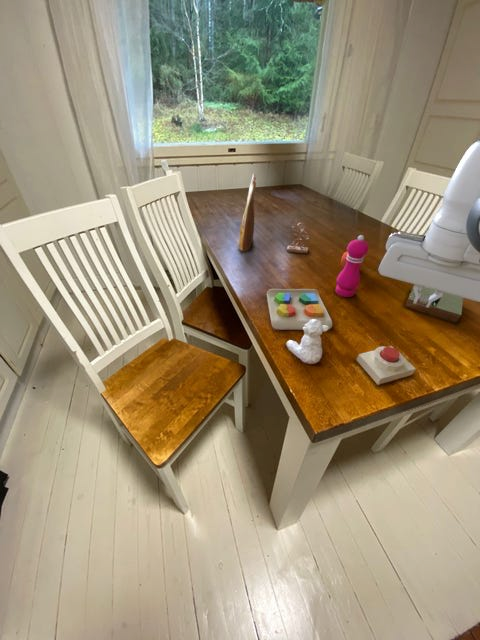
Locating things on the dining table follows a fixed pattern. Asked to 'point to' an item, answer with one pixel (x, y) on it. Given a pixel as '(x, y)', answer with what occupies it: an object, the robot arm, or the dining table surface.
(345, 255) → the apple
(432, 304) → the panel
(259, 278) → the dining table surface
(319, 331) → the sitting furry creature
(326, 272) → the dining table surface
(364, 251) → the pepper mill
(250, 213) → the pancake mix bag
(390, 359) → the button
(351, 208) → the dining table surface
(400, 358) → the button block
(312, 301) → the puzzle board
